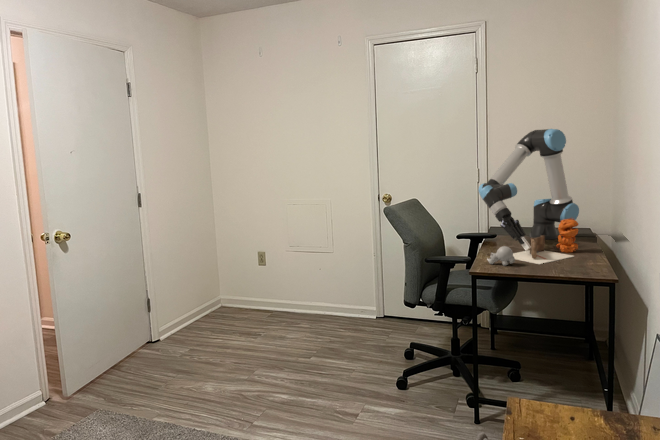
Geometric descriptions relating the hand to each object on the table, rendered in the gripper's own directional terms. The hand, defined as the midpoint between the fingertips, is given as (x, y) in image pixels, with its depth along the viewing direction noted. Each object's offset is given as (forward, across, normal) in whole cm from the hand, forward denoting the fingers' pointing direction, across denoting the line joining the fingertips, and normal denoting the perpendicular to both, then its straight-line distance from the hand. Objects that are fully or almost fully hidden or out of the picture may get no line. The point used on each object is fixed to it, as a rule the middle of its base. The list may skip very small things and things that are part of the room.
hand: (528, 248), depth 249 cm
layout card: (+5, -4, -1) cm, 6 cm away
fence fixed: (+1, -11, -4) cm, 12 cm away
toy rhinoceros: (+4, +23, -3) cm, 23 cm away
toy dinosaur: (+7, -25, +2) cm, 26 cm away
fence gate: (+4, 0, 0) cm, 4 cm away
